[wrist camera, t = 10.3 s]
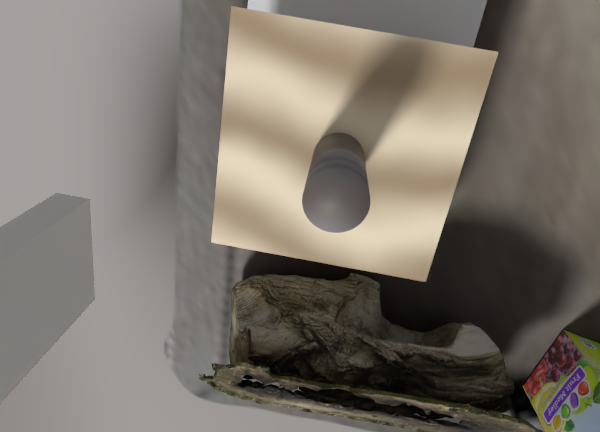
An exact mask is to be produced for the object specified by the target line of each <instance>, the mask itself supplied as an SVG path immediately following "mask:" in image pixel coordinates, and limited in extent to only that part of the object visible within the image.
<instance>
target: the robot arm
mask: <svg viewBox="0 0 600 432" xmlns="http://www.w3.org/2000/svg"><path fill="white" fill-rule="evenodd" d="M94 299H95V295H94V275H93V255H92V236H91V216H90V199H85V198H81V197H75V196H70V195H65V194H59V193H56V194H54V195H53V196H51V197H49V198H48V199H46V200H44V201H43V202H41V203H39V204H38V205H36V206H35V207H33V208H31V209H30V210H28V211H26V212H25V213H23V214H21V215H20V216H18V217H17V218H15V219H13V220H11V221H10V222H8V223H6V224H5V225H3V226H1V227H0V404H1V402H2V401H3V400H4V399H5V398H6V397H7V396H8V395H9V394H10V392H11V391H12V390H13V389H14V388H15V387H16V386H17V385H18V384H19V382H20V381H21V380H22V379H23V378H24V377H25V376H26V375H27V374H28V373H29V371H30V370H31V369H32V368H33V367H34V366H35V365H36V364H37V363H38V361H39V360H40V359H41V358H42V357H43V356H44V355H45V354H46V352H47V351H48V350H49V349H50V348H51V347H52V346H53V345H54V344H55V342H57V340H58V339H59V338H60V337H61V336H62V335H63V334H64V333H65V331H66V330H67V329H68V328H69V327H70V326H71V325H72V324H73V323H74V321H75V320H76V319H77V318H78V317H79V316H80V315H81V314H82V312H84V310H85V309H86V308H87V307H88V306H89V305H90V304H91V303H92V302H93V301H94Z"/></svg>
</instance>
